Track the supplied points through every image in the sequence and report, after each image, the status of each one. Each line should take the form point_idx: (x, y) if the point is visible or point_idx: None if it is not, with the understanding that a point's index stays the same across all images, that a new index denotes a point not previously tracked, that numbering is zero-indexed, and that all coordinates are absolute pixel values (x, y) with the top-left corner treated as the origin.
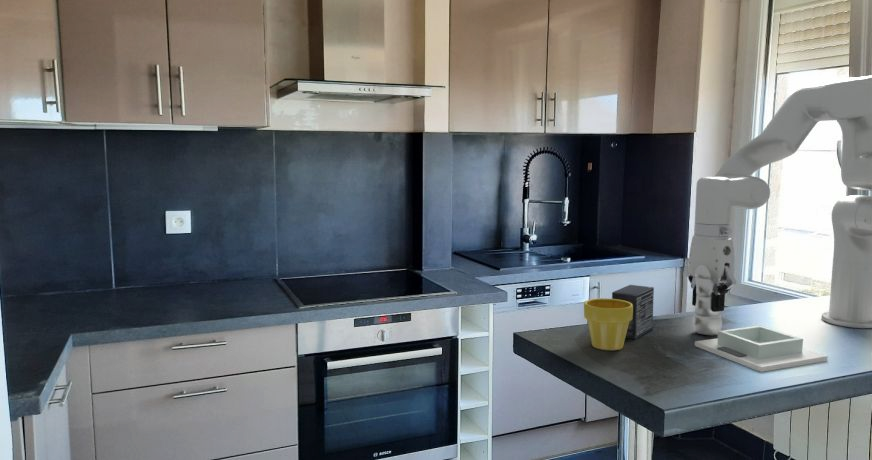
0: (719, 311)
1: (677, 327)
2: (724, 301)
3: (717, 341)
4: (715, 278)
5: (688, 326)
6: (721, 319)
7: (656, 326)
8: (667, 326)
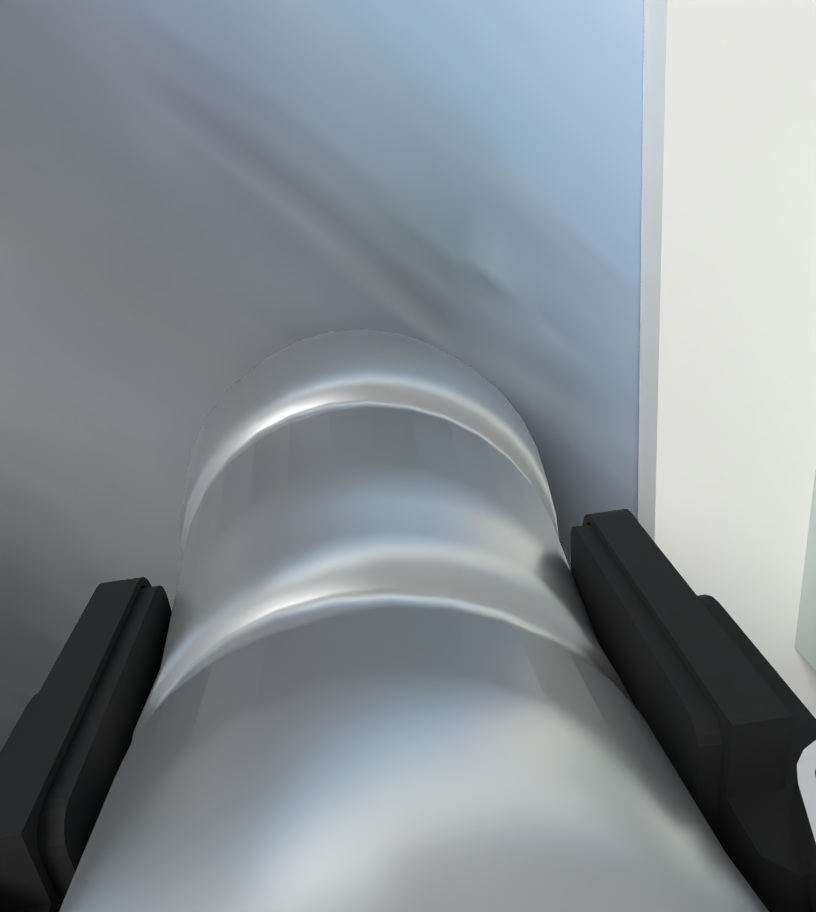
0: (549, 528)
1: (60, 588)
2: (696, 595)
3: (732, 600)
4: None
5: (29, 460)
6: (499, 415)
7: (4, 745)
8: (11, 657)
